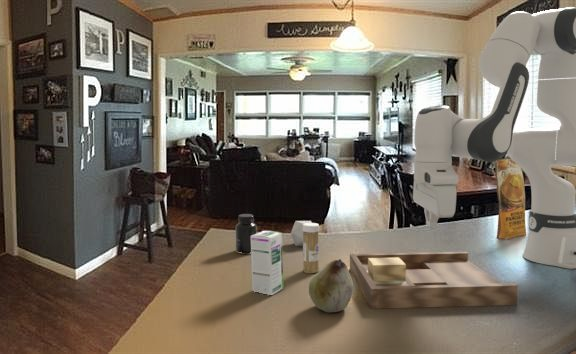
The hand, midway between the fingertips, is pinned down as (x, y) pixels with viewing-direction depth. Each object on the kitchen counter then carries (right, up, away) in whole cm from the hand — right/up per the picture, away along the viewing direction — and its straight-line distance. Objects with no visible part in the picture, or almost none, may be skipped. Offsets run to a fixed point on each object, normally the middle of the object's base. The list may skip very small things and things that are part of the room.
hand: (431, 227), depth 113 cm
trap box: (-2, -15, +1) cm, 15 cm away
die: (-31, -11, +41) cm, 52 cm away
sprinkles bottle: (-30, -14, +13) cm, 35 cm away
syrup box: (-41, -16, -1) cm, 44 cm away
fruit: (-27, -17, -13) cm, 34 cm away
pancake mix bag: (+44, -9, +50) cm, 68 cm away
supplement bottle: (-49, -12, +33) cm, 61 cm away
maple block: (-11, -13, 0) cm, 17 cm away
